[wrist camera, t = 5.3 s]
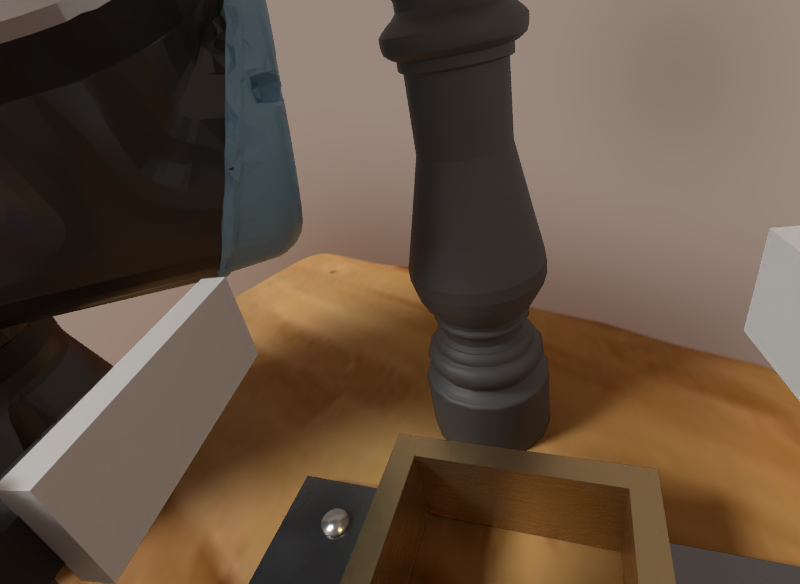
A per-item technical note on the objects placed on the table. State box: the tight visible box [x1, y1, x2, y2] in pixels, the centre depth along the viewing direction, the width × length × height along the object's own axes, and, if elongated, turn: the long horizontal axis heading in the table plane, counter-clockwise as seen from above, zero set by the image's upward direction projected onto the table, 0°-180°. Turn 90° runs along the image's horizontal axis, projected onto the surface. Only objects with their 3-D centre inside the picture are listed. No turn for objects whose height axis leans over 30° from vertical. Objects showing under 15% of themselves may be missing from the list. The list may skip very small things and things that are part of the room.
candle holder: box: [379, 0, 550, 451], centre depth 19 cm, size 6×6×25 cm
